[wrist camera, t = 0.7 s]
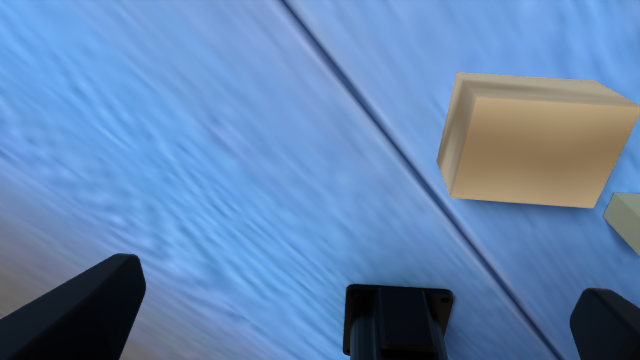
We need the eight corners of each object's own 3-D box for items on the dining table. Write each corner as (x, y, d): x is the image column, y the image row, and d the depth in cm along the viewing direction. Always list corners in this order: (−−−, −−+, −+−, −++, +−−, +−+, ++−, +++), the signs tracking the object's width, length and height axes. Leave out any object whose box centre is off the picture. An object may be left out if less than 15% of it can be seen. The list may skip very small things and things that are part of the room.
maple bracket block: (556, 168, 20) (593, 208, 17) (435, 159, 20) (450, 197, 17) (592, 79, 17) (643, 107, 14) (455, 71, 17) (476, 97, 14)
